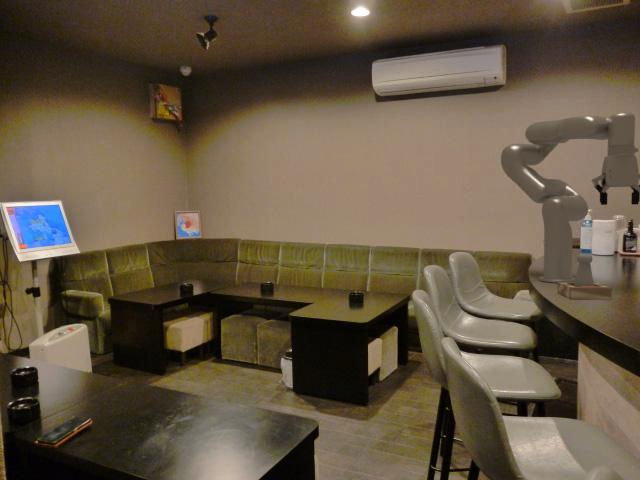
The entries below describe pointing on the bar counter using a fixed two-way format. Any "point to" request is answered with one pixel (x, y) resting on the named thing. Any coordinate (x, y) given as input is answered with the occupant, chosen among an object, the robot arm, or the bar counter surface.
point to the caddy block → (585, 291)
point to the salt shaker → (584, 271)
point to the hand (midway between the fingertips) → (619, 204)
